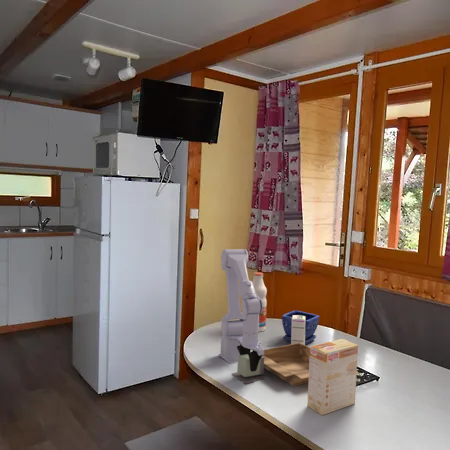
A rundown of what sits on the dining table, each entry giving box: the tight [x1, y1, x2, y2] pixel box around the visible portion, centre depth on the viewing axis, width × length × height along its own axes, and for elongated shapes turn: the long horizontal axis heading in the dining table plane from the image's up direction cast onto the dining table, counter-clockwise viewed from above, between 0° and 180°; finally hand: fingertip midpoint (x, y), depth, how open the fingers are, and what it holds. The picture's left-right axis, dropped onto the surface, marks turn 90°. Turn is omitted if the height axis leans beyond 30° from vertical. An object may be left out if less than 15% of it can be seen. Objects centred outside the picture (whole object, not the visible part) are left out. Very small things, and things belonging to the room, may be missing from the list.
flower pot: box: [281, 310, 320, 345], centre depth 193 cm, size 13×13×12 cm
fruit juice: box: [251, 271, 268, 333], centre depth 207 cm, size 9×9×28 cm
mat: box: [231, 371, 267, 385], centre depth 153 cm, size 9×9×1 cm
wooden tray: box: [263, 343, 310, 387], centre depth 156 cm, size 23×23×6 cm
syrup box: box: [290, 315, 306, 345], centre depth 181 cm, size 6×6×14 cm
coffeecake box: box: [307, 338, 359, 416], centre depth 133 cm, size 15×7×20 cm, turn 123°
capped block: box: [236, 354, 265, 377], centre depth 153 cm, size 5×8×6 cm, turn 121°
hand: (249, 368), depth 152 cm, fingers closed on capped block, 5 cm apart
